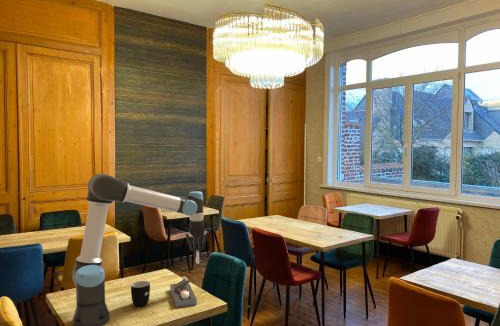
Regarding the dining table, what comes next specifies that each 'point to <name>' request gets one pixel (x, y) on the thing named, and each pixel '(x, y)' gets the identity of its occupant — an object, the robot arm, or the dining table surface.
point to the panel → (177, 296)
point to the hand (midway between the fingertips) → (197, 263)
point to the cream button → (184, 295)
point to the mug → (140, 293)
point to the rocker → (181, 283)
